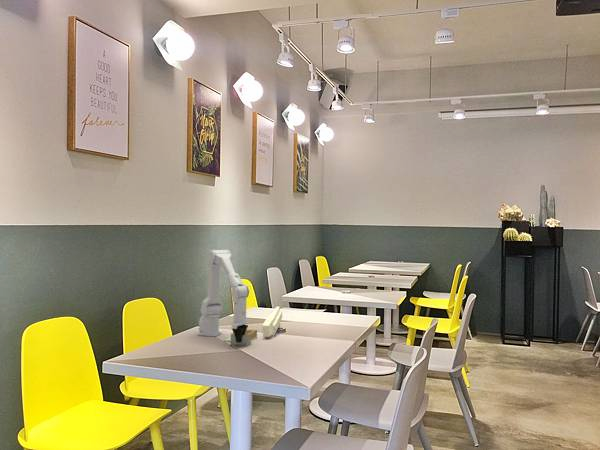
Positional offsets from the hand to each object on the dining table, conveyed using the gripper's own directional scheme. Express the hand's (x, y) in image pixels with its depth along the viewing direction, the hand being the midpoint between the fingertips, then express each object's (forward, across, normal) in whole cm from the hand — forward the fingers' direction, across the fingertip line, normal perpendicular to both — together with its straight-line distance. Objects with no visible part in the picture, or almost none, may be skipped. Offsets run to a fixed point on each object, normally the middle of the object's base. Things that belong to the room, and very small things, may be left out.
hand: (239, 341), depth 231 cm
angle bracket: (+2, +1, 0) cm, 2 cm away
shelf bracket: (+2, +28, -7) cm, 29 cm away
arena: (+2, +12, +4) cm, 12 cm away
